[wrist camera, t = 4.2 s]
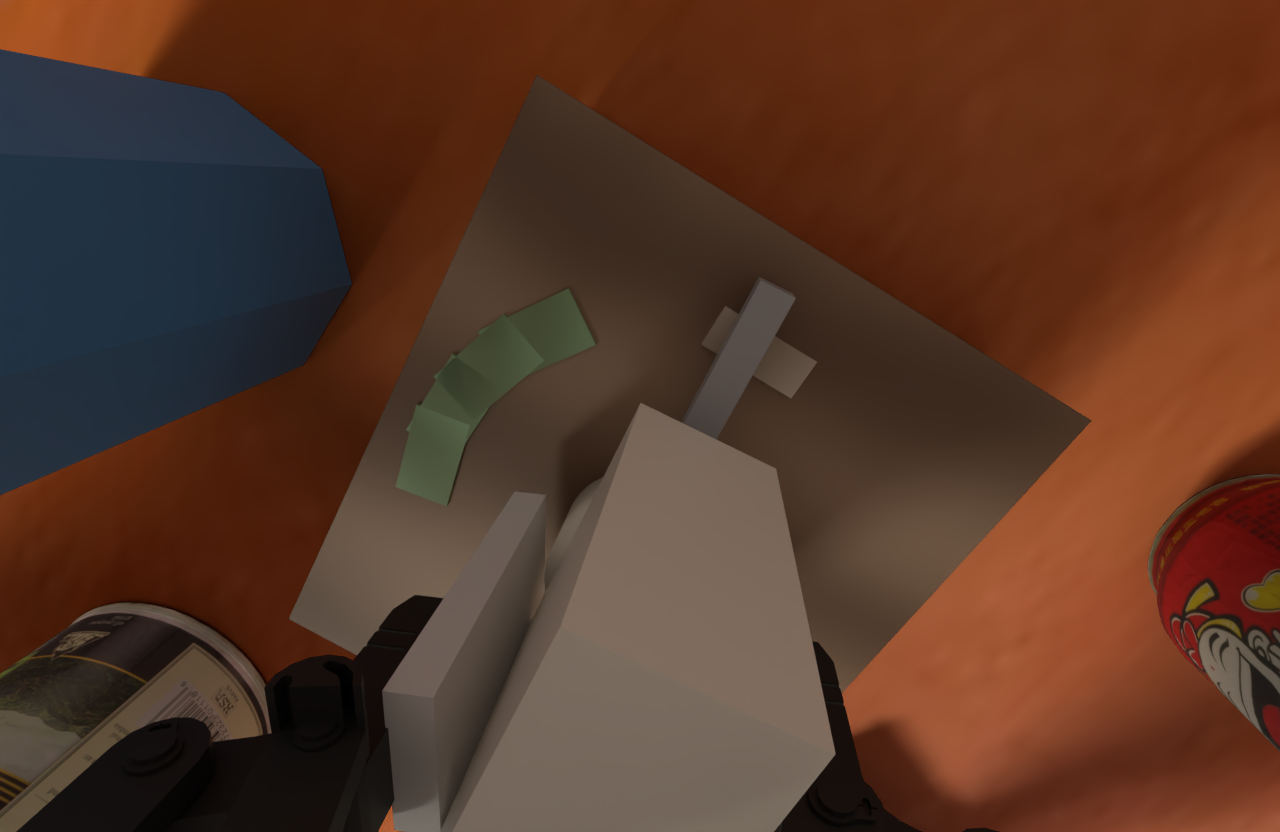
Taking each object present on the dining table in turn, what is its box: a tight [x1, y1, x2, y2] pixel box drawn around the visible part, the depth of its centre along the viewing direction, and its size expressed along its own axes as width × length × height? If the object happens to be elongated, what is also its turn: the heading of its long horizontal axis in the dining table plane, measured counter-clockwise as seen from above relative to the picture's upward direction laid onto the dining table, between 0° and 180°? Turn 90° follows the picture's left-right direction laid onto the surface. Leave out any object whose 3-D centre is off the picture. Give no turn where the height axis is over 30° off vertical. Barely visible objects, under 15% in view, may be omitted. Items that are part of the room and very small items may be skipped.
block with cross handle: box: [440, 277, 835, 832], centre depth 12 cm, size 11×4×9 cm, turn 155°
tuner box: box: [289, 75, 1091, 693], centre depth 19 cm, size 16×14×6 cm
